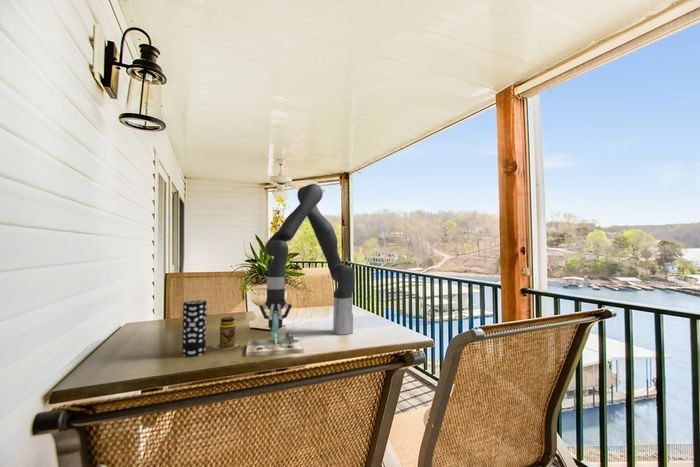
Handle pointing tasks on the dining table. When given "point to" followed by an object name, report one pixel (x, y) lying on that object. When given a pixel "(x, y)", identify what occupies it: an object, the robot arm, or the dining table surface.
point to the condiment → (227, 334)
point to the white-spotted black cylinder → (194, 328)
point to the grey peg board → (275, 346)
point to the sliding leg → (275, 326)
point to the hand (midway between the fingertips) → (275, 328)
